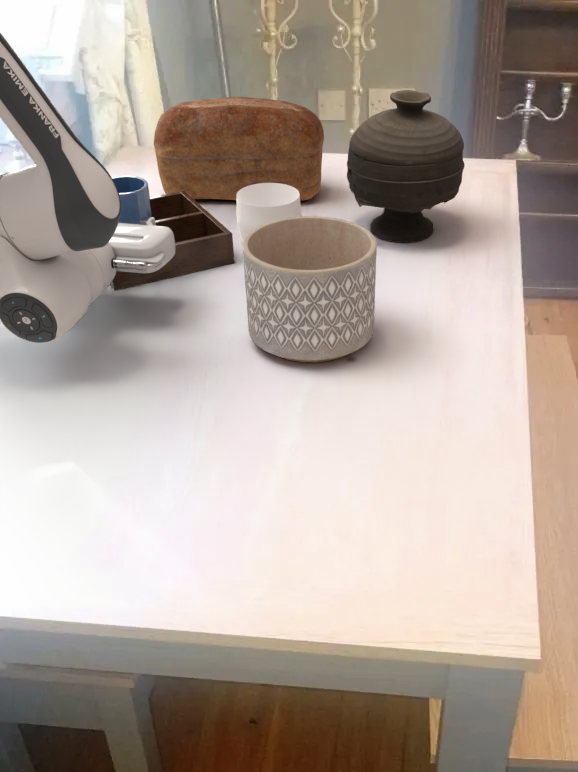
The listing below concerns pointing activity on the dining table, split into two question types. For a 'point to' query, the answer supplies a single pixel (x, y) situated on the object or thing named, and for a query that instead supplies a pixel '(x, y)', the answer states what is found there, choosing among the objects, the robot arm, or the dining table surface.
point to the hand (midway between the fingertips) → (118, 219)
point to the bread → (238, 147)
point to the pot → (405, 166)
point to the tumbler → (133, 199)
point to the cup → (265, 205)
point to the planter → (310, 287)
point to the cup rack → (184, 240)
